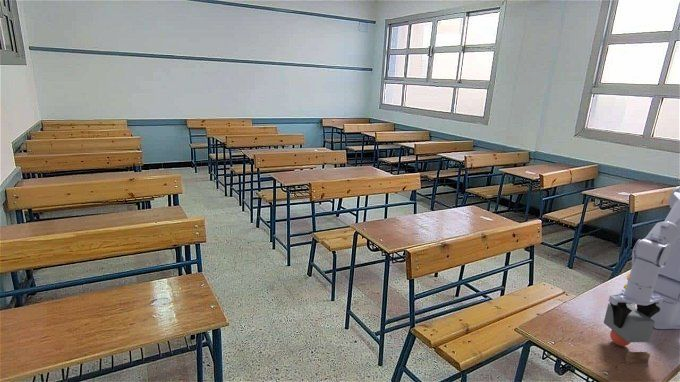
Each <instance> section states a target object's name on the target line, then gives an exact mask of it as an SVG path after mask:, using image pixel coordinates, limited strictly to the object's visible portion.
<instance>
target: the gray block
mask: <svg viewBox="0 0 680 382" xmlns="http://www.w3.org/2000/svg"><path fill="white" fill-rule="evenodd" d="M626 305H627V307H628V308H629V309H631V310H632V311H631V312H630V313H629V315H628V316H627V317H626V319H625V322H624V324H623V326H622V328H618V327H617V326H616V325H614V322H613V311H612V307H611V304H610V303H608V304H607V307H606V312H605V316H604V320H603V324H604V325H605V326H607V327H608V328H609V329H611V330H613V331H615V332H616V333H617V334H618V335H620V336H621V337H622V338H624V339H625V340H626V341H628V342H629V343H630V342H631V343H650V341H651V336H652V333H653V329H654V323H655V321H654V320H652V319H651V318H649V317H647V316H646V315H644V314H643V313H641V312H640V311H638V310H637V308H635V307H634V306H632V305H631V304H626ZM631 343H630V344H631Z"/></svg>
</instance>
